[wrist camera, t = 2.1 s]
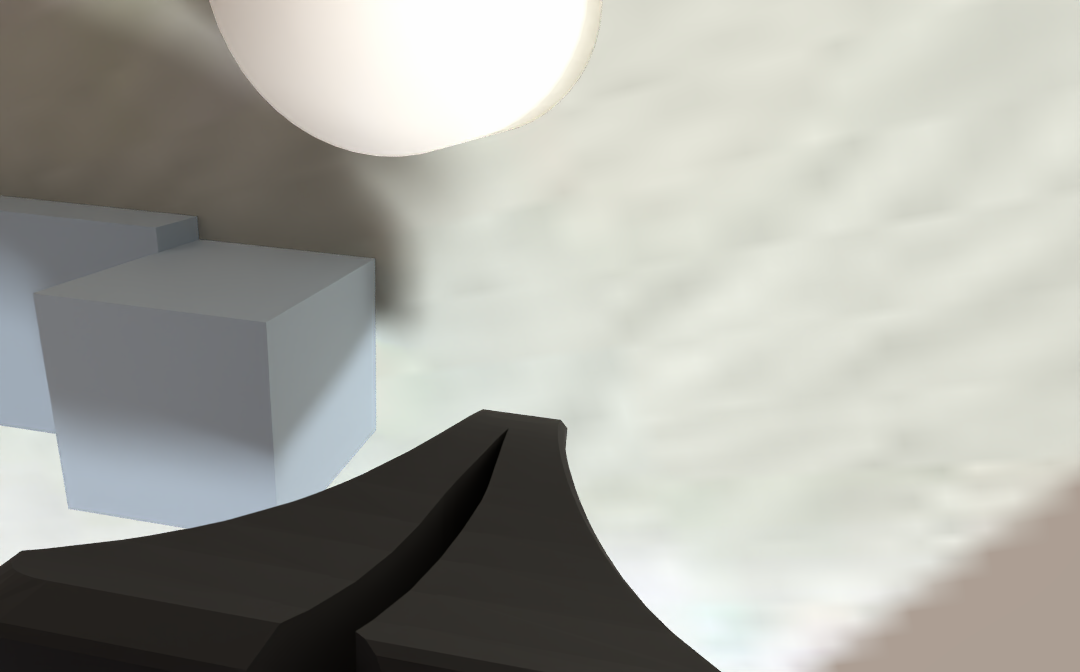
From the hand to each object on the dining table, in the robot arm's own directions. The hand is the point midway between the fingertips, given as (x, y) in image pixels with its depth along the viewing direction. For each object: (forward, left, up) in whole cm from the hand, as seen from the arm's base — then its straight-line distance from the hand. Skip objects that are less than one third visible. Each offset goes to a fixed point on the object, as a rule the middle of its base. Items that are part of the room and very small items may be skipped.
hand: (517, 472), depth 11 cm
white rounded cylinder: (+7, +2, -5) cm, 9 cm away
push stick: (0, +12, -5) cm, 13 cm away
